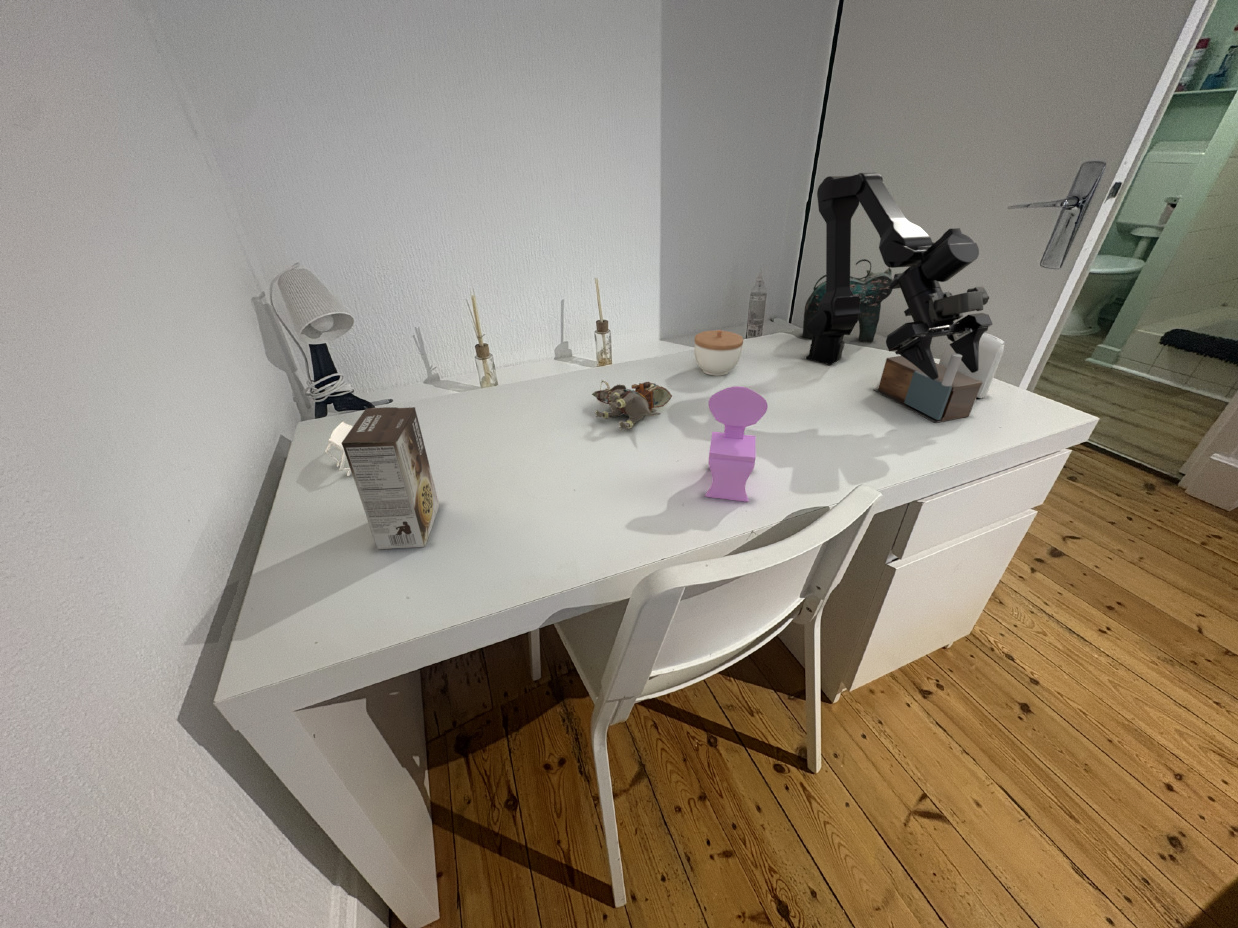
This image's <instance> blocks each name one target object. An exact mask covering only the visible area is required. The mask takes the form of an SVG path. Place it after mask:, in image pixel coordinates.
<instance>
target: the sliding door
mask: <svg viewBox="0 0 1238 928" xmlns="http://www.w3.org/2000/svg"><path fill="white" fill-rule="evenodd" d="M961 358H962V355H960V354H952V355H951V358H950V361H949V364H948V367H947V369H946V372H945V375H944V378H943V381H942V382H941V381H938V380H936V379H935V380H932V379H931V378H929V377H928V376H927V375H925V374H923V373H920V372H918V371H915V372H914V373H913V376H912V379H911V382H910V386H909V389H908V392H907V395H906V398H905V401H904V403H905V404H907V405H909V406H911V407H913V408H915V409H917V410H919V411H921V412H923V413H925V414H927V415H929V416H931V417H932V418H934V419H936V420H940V419H941V417H942V414H943V411H944V409H945V406H946V403H947V401H948V398H949V395H950V392H951V390H952V383H953V380H954V377H955V375H956V372H957V369H958V366H959V364H960V361H961Z"/></svg>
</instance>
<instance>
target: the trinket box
mask: <svg viewBox="0 0 1238 928" xmlns="http://www.w3.org/2000/svg"><path fill="white" fill-rule="evenodd" d="M693 342H694V358H695V361H696V363H697V365H698V366H699V368H700V369H701V371H702V372H703V373H704V374H706V375H710V376H718V377H719V376H726V375H728V374H729V373H730V371H732V370H733V369H735V367H736V365H738V363H739V362H740V361H739V360H740V358H741V355H742V350H743V344H744V338H743V336H742V335H740V334H738V333H735V332H732V331H728V330H727V331H726V330H722V329H717V330H705V331H701V332H699V333H697V334H695V336H694V341H693Z"/></svg>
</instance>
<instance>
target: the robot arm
mask: <svg viewBox="0 0 1238 928" xmlns="http://www.w3.org/2000/svg"><path fill="white" fill-rule="evenodd" d="M816 197H817V206H818V213H819V214H820V215H821V218H822V219H823V221H824V222H825V225H826V226H825V227H826V229H825V231H826V233H825V234H826V235H825V236H826V237H825V238H826V239H825V242H826V244H825V245H826V246H825V250H826V251H825V256H826V257H825V271H826V272H825V275H826V277H825V281H826V293H825V294H824V296H823V298H822V300H821V301H820V303H819V307H818V314H817V315H816V316H815V317H814V318H813V319H812V320H811V321H810V322H809V323H808V324H807V327H808V333H810V334H812V335H813V336H812V338H811V341H810V347H809V352H808V355H806V356H805V358H804V359H805V360H808V361H813V362H815V363H820V364H824V365H830V366H832V365H834V364H835V363H836V362H838V361H839V360H841V359H842V355H843V352H844V348H845V341H844V336H851V334H852V332H853V330H854V329H855V327H856V324H858V323H859V321H858V318H859V315H860V314H861V313H860V297H859V295H858V296H854V294H853V293H852V291H851V289H850V276H851V259H852V257H851V256H852V255H851V254H852V253H851V251H852V249H851V248H852V247H851V246H852V218H853V217H854V215H855V213H856V211H857V209H858V208H859V205H861V207H862V209H863V210H864V212H865V214H866V215H867V217H868V219H869V220H870V222H871V224H872V225H873V227H874V229H875V230H876V232H877V234H878V236H879V238H880V240H879V245H878V250H879V253H880V256H881V258H882V261H883V264H884V265H885V266H886V267H888V268H890V269H895V268H896V269H897V268H906V269H905V270H904V271H903V272H900V273H894V275H893V278H892V279H893V281H892V282H891V284H890V287H889V288H890V289H893V290H896V289H900V291H901V292H902V296H903V298H904V300H905V303H906V306H907V308H906V309H905V310H903V313H904V315H905V317H911V318H912V320H913V321H911V322H905V323H903V324H902V325H900V326H899V327H897V328H896V329H895V330H893V331H892V332H890V333H889V334H887V336H886V340H885V345H886V347H887V350H888V352H894V351H895V352H894V353H895V355H897V356H902V357H904V358H905V359H907V360H908V361H910V362H911V363H912V364H914V365H915V366H916V367H917V368H919V369H920V370H921V371H922V372H923V373H925V374H926V375H927V376H928V377H929V378H931V379H932V380H935V379H937V378H938V377H939V376H938V371H937V367H936V364H935V363H936V361H935V358H934V356H933V352H932V349H931V345H932V342H933V338H938V337H945V336H946V339H949V340H950V341H952V342H953V343H951V344H950V346H951V347H952V349H953V350H954V351H955V353H956V354H960V355H962V358H961V360H962V362H963V363H964V364H965V366H966V367H967V368H968V369H969V370H970V371H971V373H974V372H977V371H978V370H979V341H980V338H981V337H982V335H983V333H986V332H988V330H989V327H992V326H993V321H992V319H991V317H990V315H989V314H987V313H984V312H981V311H984V306H986V305H988V302H989V300H990V296H989V294H988V292H987V290H986V289H985V287H984V286H983V285H982V286H975V287H973V288H971V287H970V288H967V290H966V292H963V293H958V294H954V295H953V293H951V291H944V292H943V289H942V287H941V284H940V283H943V282H944V283H945V282H948V281H949V280H951V279H952V278H953V277H955V276H956V275H957V274H959V273H960V272H961V271H963V270H965V269H966V268H967V267H968V266H970V265H972V264H973V262H975V261H976V260H977V259H978V258H979V255H980V248H979V245H978V244H977V242H975V241H974V240H973V239H972V238H971V237H970V236H968V235H967V234H965V233H963V232H962V230H961V228H960V227H954V228H948V229H947V230H946V231H945V232H943V234H942V235H941V236H940V238H939V239H938V240H936V241H933V240H932V238H931V236H930V235H929V234H928V233H927V232H926V231H925V230H924V228H922V227H921V226H919V225H917V224H915V223H913V222H911V221H910V220H909V219H907V217H906V216H905V214H904V213H903V212H902V210H901V209H900V207H899V205H898V203H896V201H895V200H894V198H893V196H892V194H891V192H890V191H889V189H888V188H887V186H886V185H885V183H884V180H883V175H881V174H880V173H878V172H859V173H857V174H853V175H830V176H826V177H825V178H824V179H823V180H822V182H821V183H820V184H819V185H818V187H817V191H816ZM975 311H976V312H978V313H970V312H975ZM966 313H970V314H967V315H965V316H964V314H966ZM956 320H957V321H956ZM955 321H956V322H955Z"/></svg>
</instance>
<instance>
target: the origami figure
mask: <svg viewBox="0 0 1238 928" xmlns="http://www.w3.org/2000/svg"><path fill="white" fill-rule="evenodd" d="M353 426H354V425H351V424H348V423H346V422H345V421H342V422H341V423H339V424H338V425H337V426H336V427H335V428H334V429H333V430H332V432H331V435H330V438H329V439H328V445H327V447H326V448H325V451H324V453H325V454H327V455H328V456H329V457H330V458H332V459H334V460H336V462H337V463H336V467H337V468H338V470H339V471H347V474H346V476H347V477H349V476H351V474H352V472H351V469H350V467H345V463H346V455H345V452H344V449H343V446H342V444H341V443H342V442H343V440H344V439H345V437H346V436H347V434H348V433H349V432H350V430H351V429H352V427H353ZM332 446H333V447H335V448H336V449H338V450H340V451H342V455H341V456H342V457H341V462H340V459H338V458H337V457H335V456H334V455H333V454H331V453H330V452H329V451H330V449H331V447H332Z"/></svg>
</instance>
